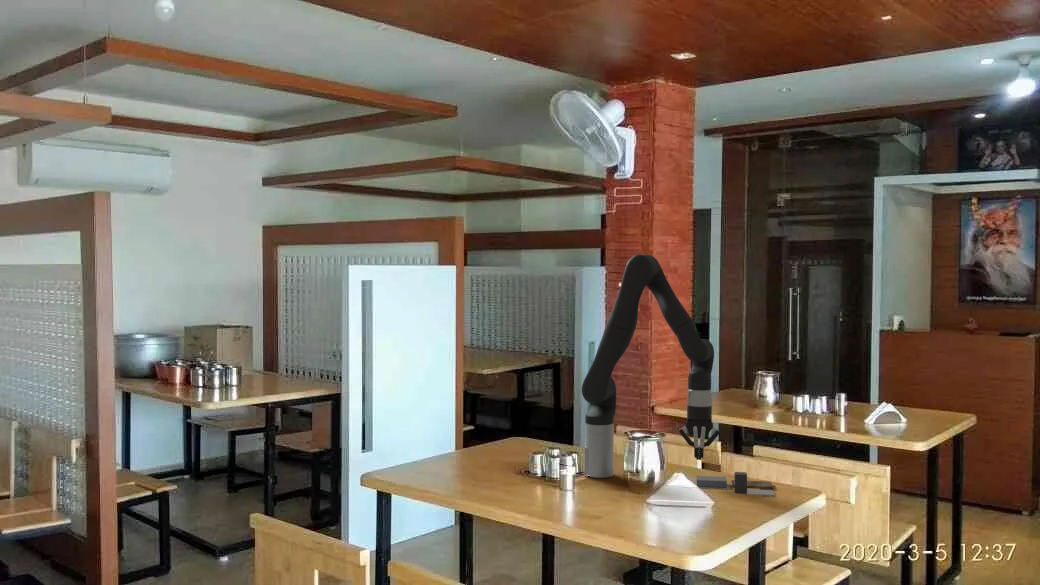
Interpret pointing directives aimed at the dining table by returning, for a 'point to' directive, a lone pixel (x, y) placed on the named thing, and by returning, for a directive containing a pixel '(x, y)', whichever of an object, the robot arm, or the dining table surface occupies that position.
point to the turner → (741, 486)
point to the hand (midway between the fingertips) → (698, 459)
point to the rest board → (758, 485)
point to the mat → (714, 487)
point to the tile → (711, 481)
